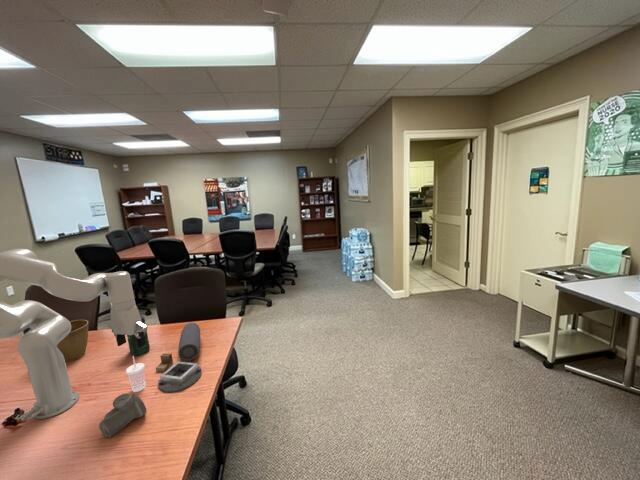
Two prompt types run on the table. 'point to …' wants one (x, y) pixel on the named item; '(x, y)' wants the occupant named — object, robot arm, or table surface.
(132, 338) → the coffee jar
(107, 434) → the pipe fitting
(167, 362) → the walnut bracket
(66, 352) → the plant pot
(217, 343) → the table surface
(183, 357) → the bluetooth speaker
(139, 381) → the beverage cup
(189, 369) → the gray windowed housing
